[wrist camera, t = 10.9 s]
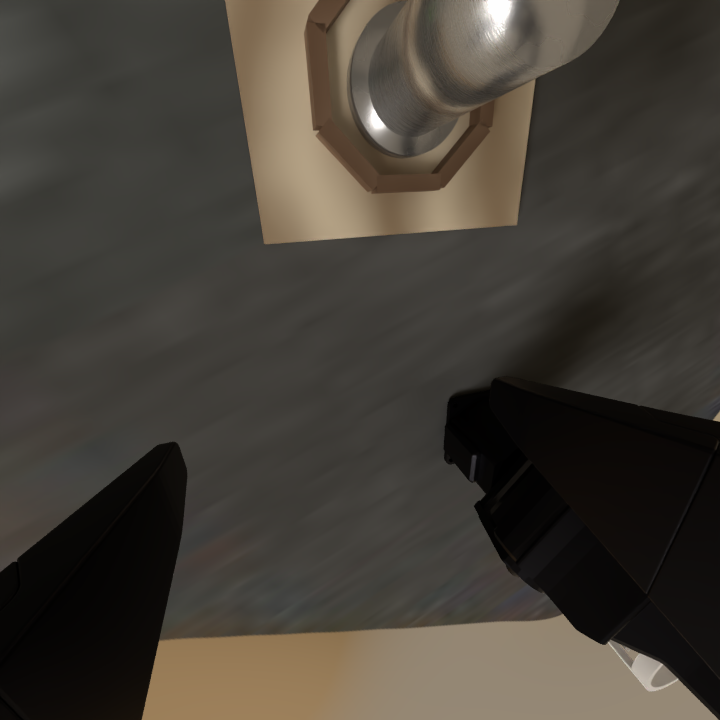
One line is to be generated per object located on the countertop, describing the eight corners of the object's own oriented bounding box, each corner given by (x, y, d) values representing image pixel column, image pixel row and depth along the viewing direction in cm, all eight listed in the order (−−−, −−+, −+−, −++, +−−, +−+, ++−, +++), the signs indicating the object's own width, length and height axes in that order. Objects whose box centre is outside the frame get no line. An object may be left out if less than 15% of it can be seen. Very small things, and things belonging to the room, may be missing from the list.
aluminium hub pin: (459, 16, 16) (693, -216, 8) (452, 157, 19) (624, 103, 10) (341, 7, 15) (461, -290, 6) (351, 160, 18) (446, 101, 9)
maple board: (541, -74, 17) (574, -108, 15) (506, 224, 23) (527, 225, 21) (204, -131, 13) (195, -185, 11) (264, 243, 19) (264, 245, 17)
